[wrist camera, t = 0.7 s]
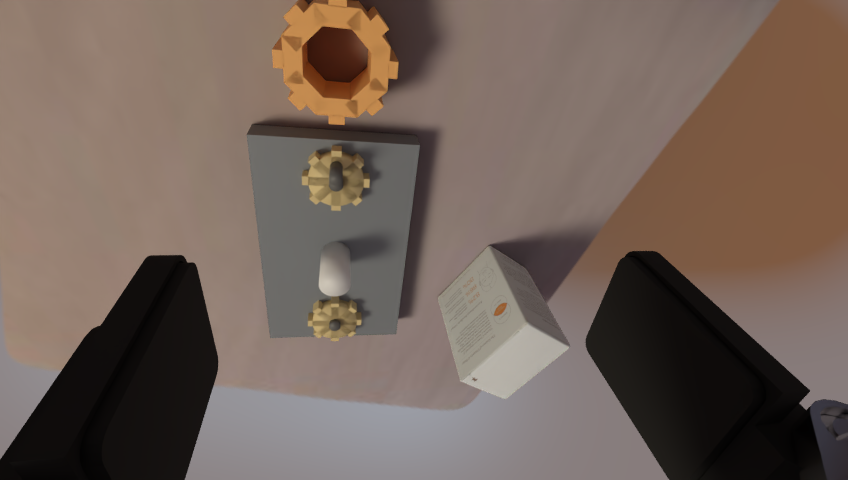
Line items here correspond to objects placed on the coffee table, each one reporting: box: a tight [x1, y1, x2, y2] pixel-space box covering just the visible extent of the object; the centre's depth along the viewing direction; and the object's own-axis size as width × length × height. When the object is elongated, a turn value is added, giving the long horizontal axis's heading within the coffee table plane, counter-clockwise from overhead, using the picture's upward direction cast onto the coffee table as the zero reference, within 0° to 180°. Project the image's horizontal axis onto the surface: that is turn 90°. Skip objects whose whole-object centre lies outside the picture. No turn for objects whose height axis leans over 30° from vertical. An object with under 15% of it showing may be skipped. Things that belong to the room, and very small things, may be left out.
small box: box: [438, 246, 570, 399], centre depth 38 cm, size 8×6×10 cm
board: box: [247, 124, 420, 341], centre depth 34 cm, size 20×12×6 cm, turn 173°
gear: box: [272, 0, 399, 125], centre depth 27 cm, size 7×7×4 cm
